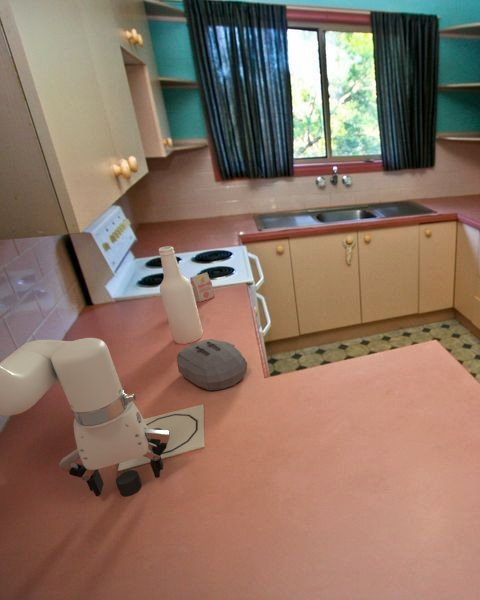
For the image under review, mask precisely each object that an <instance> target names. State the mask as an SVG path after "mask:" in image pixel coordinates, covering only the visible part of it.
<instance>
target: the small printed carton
mask: <svg viewBox="0 0 480 600" xmlns="http://www.w3.org/2000/svg"><path fill="white" fill-rule="evenodd" d="M189 278H190V280H189V281H190V283H191V285H192V289H193V293H194V297H195V301H196V303H199V302H200V303H203V302H206V301H209V300H211V299H213V297H214V298H216V297H215V291H214V286H213V283H212V280H211V278H210V277H209V273H208V272H203V273H201V274H197V275H194V276H190V277H189ZM205 300H206V301H205ZM202 301H203V302H202ZM200 303H199V304H200Z"/></svg>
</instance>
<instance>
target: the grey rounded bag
mask: <svg viewBox="0 0 480 600" xmlns="http://www.w3.org/2000/svg"><path fill="white" fill-rule="evenodd" d="M176 363H177V369H178V373H180V374H181V375H182V376H183V377H184V378H185V379H187V380H188V381H190V382H191V383H193V384H194V385H196V386H197V387H200V388H202V389H205V390H207V391H218V390H219V391H220V390H224V389H227V388H230V387H233V386H235V385H237V384H238V383H240V382H241V381H242V380H243V379H244V378H245V376H246V373H247V369H248V362H247V360H246V358H245V357H244V356H243V353H242V352H241V351H240V350H239V349H237V347H235V345H234V344H233V343H231V342H228V341H224V340H217V339H212V338H210V339H204V340H201V341H199V342H194V343H193V344H191V345H189V346H186V347H185V348H183V349H181V350H180V351H179V352H178V353H177V356H176Z"/></svg>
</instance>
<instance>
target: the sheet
mask: <svg viewBox="0 0 480 600" xmlns="http://www.w3.org/2000/svg"><path fill="white" fill-rule="evenodd" d="M143 419H144V421H145V423H146V426H147V428H148V429H155V428H161V429H162V430H166V431H170V438H169V441H168V443H167V447H166V449H165V450H164V451H163V453H162V454H161V455H160V456H161V459H162V460H165V459H168V458H172V457H175V456H178V455H182V454H187V453H189V452H193V451H197V450H200V449H203V448H205V447H206V445H205V444H206V443H205V404H203V403H202V404H199V405H194V406H191V407H187V408H183V409H178V410H174V411H170V412H166V413H162V414H159V415H155V416H151V417H147V418H143ZM150 461H151V459H149V458H146V457H144V456H141V457H139V458H135V459H132V460H129V461H125V462H122V463H118V467H117V472H118V473H119V472H124V471H127V470H131V469H133V468H136V467H140V466H144V465H147V464H150Z"/></svg>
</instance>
